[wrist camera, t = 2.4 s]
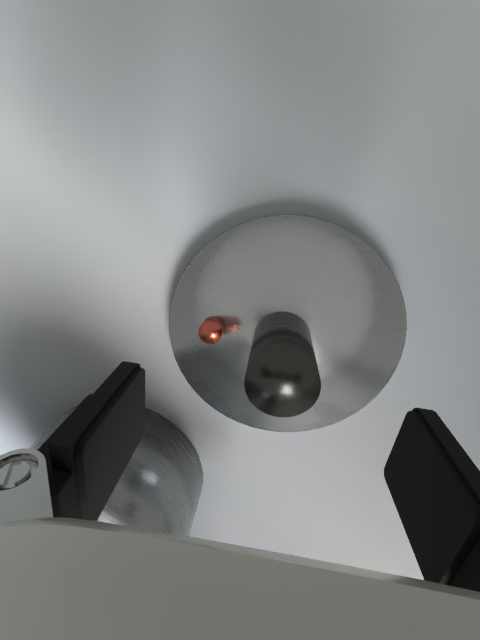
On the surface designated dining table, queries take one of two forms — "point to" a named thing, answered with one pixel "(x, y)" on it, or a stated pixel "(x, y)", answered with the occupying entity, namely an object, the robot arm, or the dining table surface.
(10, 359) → the dining table surface
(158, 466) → the cooker pot
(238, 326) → the lid
